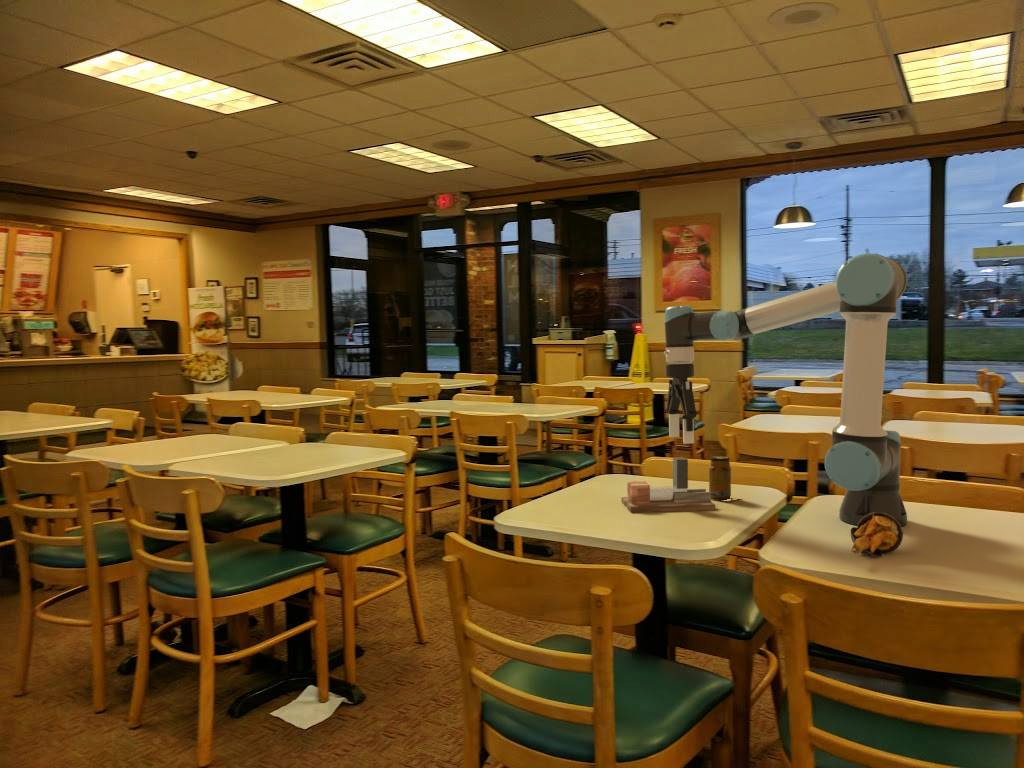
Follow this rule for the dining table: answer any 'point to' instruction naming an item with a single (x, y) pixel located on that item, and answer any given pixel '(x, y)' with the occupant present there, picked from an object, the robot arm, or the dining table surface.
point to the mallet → (678, 481)
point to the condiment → (720, 478)
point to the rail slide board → (641, 499)
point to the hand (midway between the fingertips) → (681, 440)
